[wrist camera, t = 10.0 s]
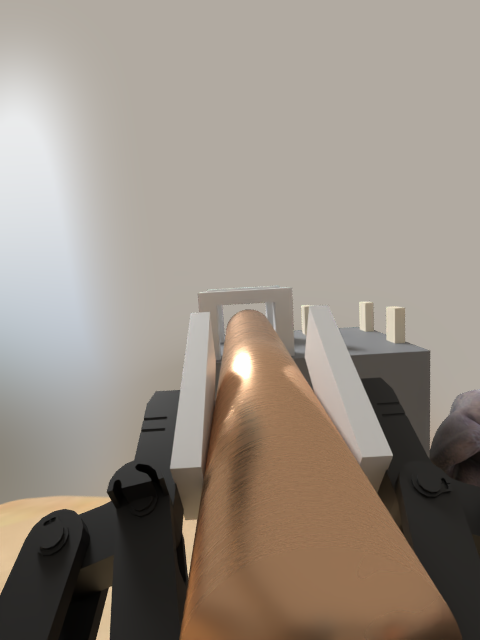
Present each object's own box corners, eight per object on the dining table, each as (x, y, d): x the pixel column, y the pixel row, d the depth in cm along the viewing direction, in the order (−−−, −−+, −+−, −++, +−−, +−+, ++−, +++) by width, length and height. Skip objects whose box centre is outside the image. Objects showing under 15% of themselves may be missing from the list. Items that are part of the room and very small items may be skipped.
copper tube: (417, 809, 5) (504, 577, 5) (151, 767, 5) (206, 521, 4) (266, 358, 31) (276, 314, 30) (222, 349, 31) (231, 305, 30)
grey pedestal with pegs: (213, 645, 34) (187, 293, 30) (221, 528, 50) (204, 289, 46) (428, 633, 34) (430, 280, 30) (367, 520, 50) (363, 280, 46)
